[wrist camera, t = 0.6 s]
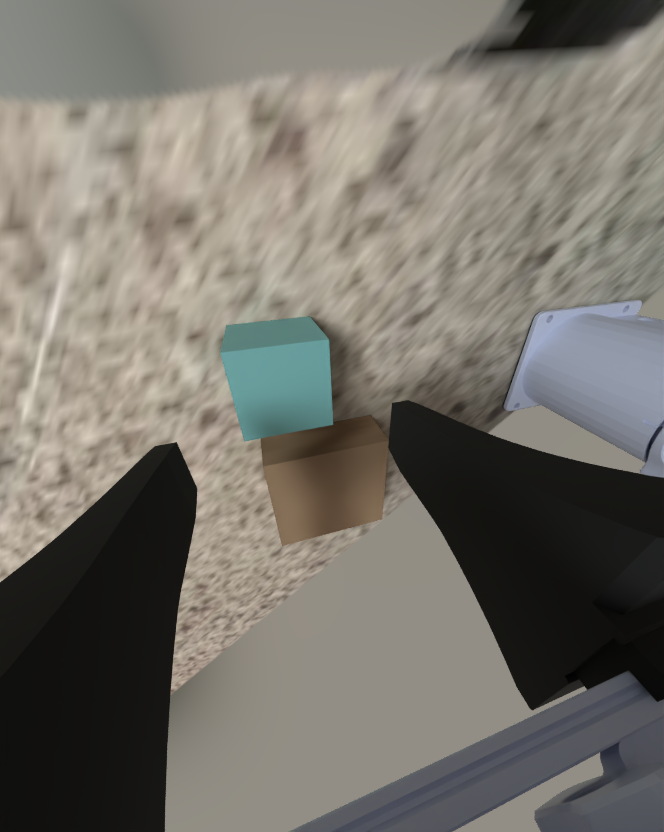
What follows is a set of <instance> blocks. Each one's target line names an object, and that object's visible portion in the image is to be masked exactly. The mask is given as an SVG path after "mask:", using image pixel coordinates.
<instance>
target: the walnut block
mask: <svg viewBox="0 0 664 832" xmlns="http://www.w3.org/2000/svg"><path fill="white" fill-rule="evenodd" d="M388 445H389V440H388V438H387V437H386V436H385V434H384V433H383V431H382V430H381V429H380V427H379V426H378V425H377V423H376V422H375V420H374V419H373V418H372V416H371V415H369V416H364V417H358V418H353V419H348V420H342V421H337V422H333V425H329V426H323V427H318V428H313V429H307V430H302V431H297V432H292V433H286V434H281V435H276V436H270V437H265V438H261V448H262V460H263V469H264V473H265V477H266V481H267V485H268V489H269V493H270V497H271V502H272V506H273V510H274V514H275V518H276V522H277V526H278V530H279V535H280V539H281V543H282V546H283V545H287V544H291V543H295V542H299V541H302V540H306V539H310V538H314V537H317V536H321V535H325V534H329V533H332V532H336V531H340V530H344V529H347V528H351V527H355V526H359V525H362V524H366V523H370V522H374V521H377V520H381V519H382V514H383V503H384V492H385V480H386V469H387V458H388Z"/></svg>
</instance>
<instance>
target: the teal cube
mask: <svg viewBox="0 0 664 832" xmlns="http://www.w3.org/2000/svg"><path fill="white" fill-rule="evenodd" d="M220 354H221V357H222V361H223V365H224V368H225V372H226V376H227V379H228V383H229V387H230V390H231V394H232V398H233V401H234V405H235V409H236V412H237V416H238V420H239V423H240V427H241V431H242V434H243V438H244V441H249V440H254V439H260V438H265V437H270V436H276V435H281V434H286V433H292V432H297V431H302V430H307V429H313V428H318V427H323V426H329V425H333V411H332V391H331V370H330V350H329V339H328V337H327V336H326V335H325V334H324V333H323V332H322V330H321V329H320V328H319V327H318V326H317V325H316V323H315V322H314V321H313V320H312V319H311V318H310V316H308V317H299V318H290V319H280V320H271V321H262V322H253V323H243V324H234V325H226V329H225V334H224V338H223V343H222V347H221V352H220Z"/></svg>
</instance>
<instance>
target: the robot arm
mask: <svg viewBox="0 0 664 832" xmlns="http://www.w3.org/2000/svg"><path fill="white" fill-rule="evenodd" d="M641 305H642V302H641V301H639V300H629V301H621V302H613V303H605V304H597V305H589V306H581V307H573V308H565V309H557V310H549V311H542V312H539V313H538V314H537V315H536V316H535V317H534V319H533V322H532V325H531V328H530V331H529V334H528V337H527V340H526V343H525V346H524V348H523V351H522V354H521V357H520V360H519V363H518V366H517V369H516V372H515V374H514V377H513V380H512V383H511V386H510V389H509V392H508V395H507V398H506V400H505V403H504V409H505V410H507V411H514V410H519V409H524V408H528V407H533V406H538V405H542V406H544V407H546V408H548V409H550V410H551V411H553V412H555V413H557V414H559V415H561V416H562V417H564V418H566V419H568V420H570V421H571V422H573V423H575V424H577V425H579V426H580V427H582V428H584V429H586V430H588V431H589V432H591V433H593V434H595V435H597V436H599V437H600V438H602V439H604V440H606V441H607V442H609V443H611V444H613V445H615V446H617V447H618V448H620V449H622V450H624V451H626V452H627V453H629V454H631V455H633V456H635V457H636V458H638V459H640V460H642V461H644V462H645V465H644V466H643V468H642V469H641V470H640V473H642V474H638V473H633V472H628V471H623V470H617V469H612V468H607V467H603V466H598V465H593V464H589V463H584V462H580V461H576V460H572V459H568V458H564V457H560V456H556V455H553V454H549V453H545V452H542V451H538V450H535V449H532V448H529V447H525V446H522V445H519V444H516V443H513V442H510V441H507V440H504V439H501V438H498V437H496V436H493V435H490V434H488V433H485V432H483V431H480V430H477V429H475V428H473V427H470V426H468V425H465V424H463V423H461V422H458V421H456V420H454V419H451V418H449V417H447V416H445V415H442V414H440V413H438V412H436V411H433V410H431V409H429V408H426V407H424V406H422V405H419V404H417V403H414V402H411V401H408V400H407V401H401V402H396V403H392V411H391V423H390V434H389V445H388V448H389V450H390V452H391V454H392V456H393V458H394V460H395V462H396V464H397V466H398V468H399V470H400V472H401V473H402V475H403V476H404V478H405V479H406V481H407V482H408V484H409V485H410V486H411V488H412V489H413V491H414V492H415V494H416V495H417V496H418V498H419V499H420V501H421V502H422V504H423V505H424V507H425V508H426V510H427V511H428V512H429V514H430V515H431V517H432V518H433V520H434V521H435V523H436V524H437V526H438V528H439V529H440V531H441V532H442V534H443V536H444V537H445V540H446V541H447V543H448V545H449V547H450V549H451V550H452V552H453V554H454V556H455V557H456V559H457V561H458V563H459V565H460V567H461V569H462V571H463V573H464V575H465V577H466V579H467V581H468V582H469V584H470V586H471V588H472V590H473V592H474V594H475V596H476V599H477V601H478V603H479V605H480V607H481V609H482V611H483V613H484V615H485V617H486V619H487V621H488V623H489V625H490V628H491V630H492V632H493V634H494V636H495V639H496V641H497V643H498V645H499V648H500V650H501V652H502V654H503V656H504V658H505V661H506V663H507V665H508V668H509V670H510V672H511V675H512V677H513V679H514V682H515V684H516V686H517V688H518V690H519V691H520V693H521V695H522V696H523V698H524V699H525V701H526V703H527V704H528V706H529V708H530V709H531V710H534V709H536V708H538V707H540V706H543V705H545V704H547V703H549V702H551V701H553V700H555V699H557V698H560V697H562V696H564V695H566V694H568V693H570V692H572V691H574V690H577V689H579V688H581V687H583V686H585V687H586V689H587V690H586V691H585V692H582V693H580V694H578V695H576V696H574V697H572V698H569V699H567V700H565V701H563V702H561V703H559V704H557V705H555V706H553V707H551V708H548V709H546V710H544V711H542V712H540V713H538V714H536V715H534V716H532V717H530V718H527V719H525V720H523V721H521V722H519V723H517V724H515V725H513V726H510V727H508V728H506V729H504V730H502V731H500V732H498V733H496V734H494V735H492V736H489V737H487V738H485V739H483V740H481V741H479V742H477V743H475V744H473V745H470V746H468V747H466V748H464V749H462V750H460V751H458V752H456V753H454V754H452V755H449V756H447V757H445V758H443V759H441V760H439V761H437V762H435V763H433V764H431V765H428V766H426V767H424V768H422V769H420V770H418V771H416V772H414V773H411V774H410V775H407V776H405V777H403V778H401V779H399V780H397V781H395V782H393V783H390V784H388V785H386V786H384V787H382V788H380V789H378V790H376V791H374V792H372V793H369V794H367V795H365V796H363V797H361V798H359V799H357V800H355V801H353V802H350V803H348V804H346V805H344V806H342V807H340V808H338V809H336V810H334V811H331V812H329V813H327V814H325V815H323V816H321V817H319V818H317V819H315V820H313V821H311V822H308V823H306V824H304V825H302V826H300V827H298V828H296V829H294V830H291V831H289V832H452V831H454V830H456V829H458V828H460V827H462V826H464V825H465V824H467V823H469V822H471V821H473V820H475V819H477V818H479V817H480V816H482V815H484V814H486V813H488V812H490V811H492V810H493V809H495V808H497V807H499V806H501V805H503V804H505V803H506V802H508V801H510V800H512V799H514V798H516V797H518V796H519V795H521V794H523V793H525V792H527V791H529V790H531V789H532V788H534V787H536V786H538V785H540V784H541V783H544V782H545V781H547V780H549V779H551V778H553V777H555V776H557V775H559V774H560V773H562V772H564V771H566V770H568V769H570V768H572V767H573V766H575V765H577V764H579V763H581V762H583V761H585V760H586V759H588V758H590V757H592V756H594V755H596V754H597V753H599V752H600V759H601V763H602V766H603V770H604V773H603V775H602V776H600V777H596V778H593V779H590V780H588V781H585V782H582V783H579V784H577V785H574V786H572V787H570V788H568V789H566V790H564V791H562V792H561V793H559V794H558V795H556V796H555V797H553V798H552V799H550V800H549V801H548V802H547V803H545V804H544V805H542V806H541V807H540V808H538V809H537V810H535V821H536V823H537V825H538V827H539V829H540V831H541V832H664V320H660V319H655V318H650V317H644V316H639V315H637V313H638V311H639V309H640V307H641ZM196 505H197V487H196V485H195V483H194V480H193V478H192V476H191V474H190V471H189V469H188V467H187V465H186V462H185V460H184V458H183V456H182V453H181V451H180V449H179V447H178V444H177V442H176V443H170V444H165V445H159V446H155V447H154V448H153V449H151V450H150V451H149V452H148V453H147V454H146V455H145V456H144V457H143V458H142V459H141V460H140V461H138V462H137V463H136V464H135V465H134V466H133V467H132V468H131V469H130V470H129V471H128V472H127V473H126V474H125V475H124V476H123V477H122V478H121V479H120V480H119V481H118V482H117V483H116V484H115V485H114V486H113V487H112V488H111V489H110V490H109V491H108V492H107V493H106V494H104V495H103V496H102V497H101V498H100V499H99V500H98V501H97V502H96V503H95V504H94V505H93V506H91V507H90V508H89V509H88V510H87V511H86V512H85V513H84V514H83V515H81V516H80V517H79V518H78V519H77V520H76V521H75V522H74V523H72V524H71V525H70V526H69V527H68V528H67V529H66V530H65V531H64V532H62V533H61V534H60V535H59V536H58V537H57V538H55V539H54V540H53V541H52V542H51V543H49V544H48V545H47V546H46V547H45V548H43V549H42V550H41V551H40V552H38V553H37V554H36V555H35V556H33V557H32V558H31V559H30V560H28V561H27V562H26V563H25V564H23V565H22V566H21V567H19V568H18V569H17V570H16V571H14V572H13V573H12V574H11V575H9V576H8V577H7V578H5V579H4V580H3V581H1V582H0V832H165V797H166V796H165V795H166V767H167V742H168V724H169V706H170V691H171V679H172V666H173V654H174V643H175V633H176V623H177V613H178V606H179V600H180V593H181V588H182V583H183V578H184V573H185V568H186V564H187V559H188V554H189V549H190V544H191V539H192V534H193V529H194V524H195V518H196Z"/></svg>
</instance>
